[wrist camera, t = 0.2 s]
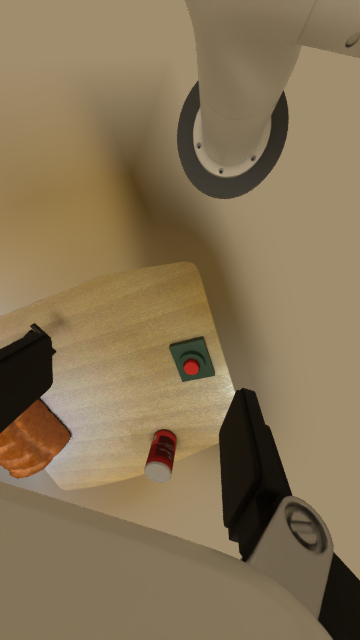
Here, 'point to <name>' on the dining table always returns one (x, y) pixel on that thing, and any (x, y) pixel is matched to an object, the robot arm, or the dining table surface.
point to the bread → (32, 441)
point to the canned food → (161, 457)
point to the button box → (192, 351)
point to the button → (191, 366)
